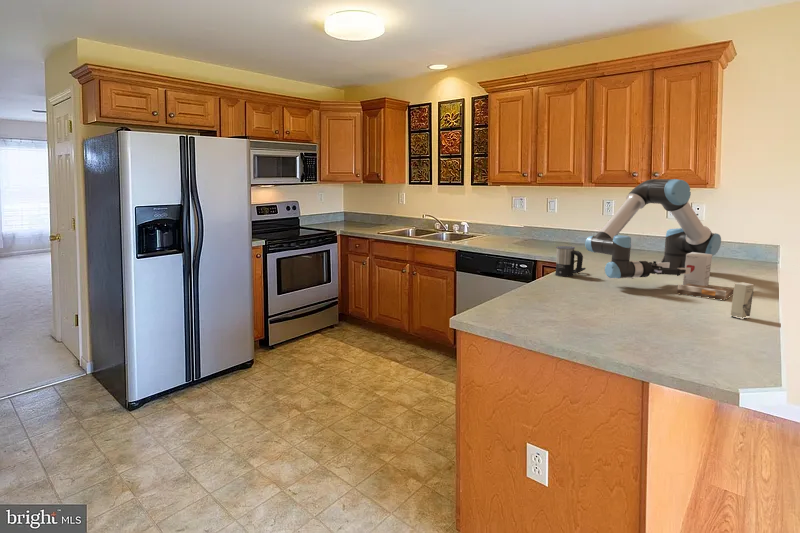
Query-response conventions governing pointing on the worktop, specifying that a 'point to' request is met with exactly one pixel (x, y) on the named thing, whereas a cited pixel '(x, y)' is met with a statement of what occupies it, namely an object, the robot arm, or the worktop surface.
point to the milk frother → (568, 261)
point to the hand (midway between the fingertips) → (679, 267)
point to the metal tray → (705, 291)
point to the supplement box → (698, 268)
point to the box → (742, 299)
